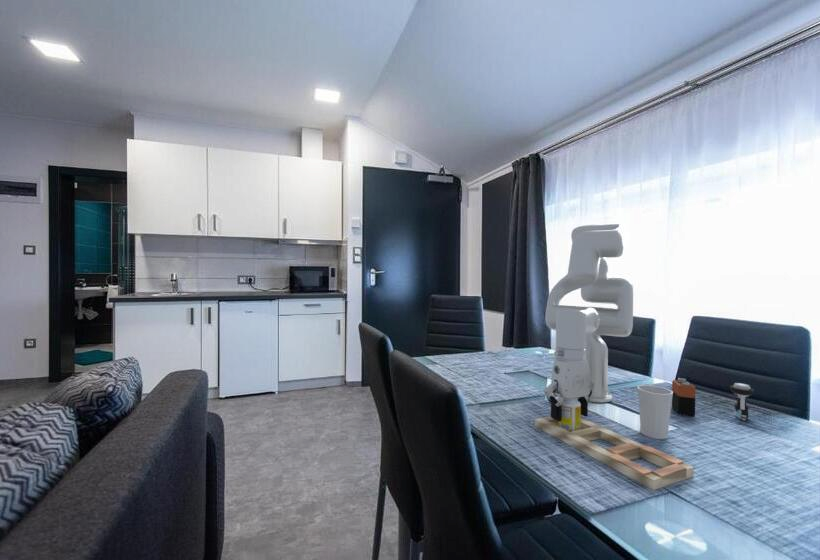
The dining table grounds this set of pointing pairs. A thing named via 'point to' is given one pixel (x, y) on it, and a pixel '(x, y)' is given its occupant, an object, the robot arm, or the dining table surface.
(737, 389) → the push button
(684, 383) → the battery
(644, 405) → the cup
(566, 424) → the supplement bottle
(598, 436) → the rack
